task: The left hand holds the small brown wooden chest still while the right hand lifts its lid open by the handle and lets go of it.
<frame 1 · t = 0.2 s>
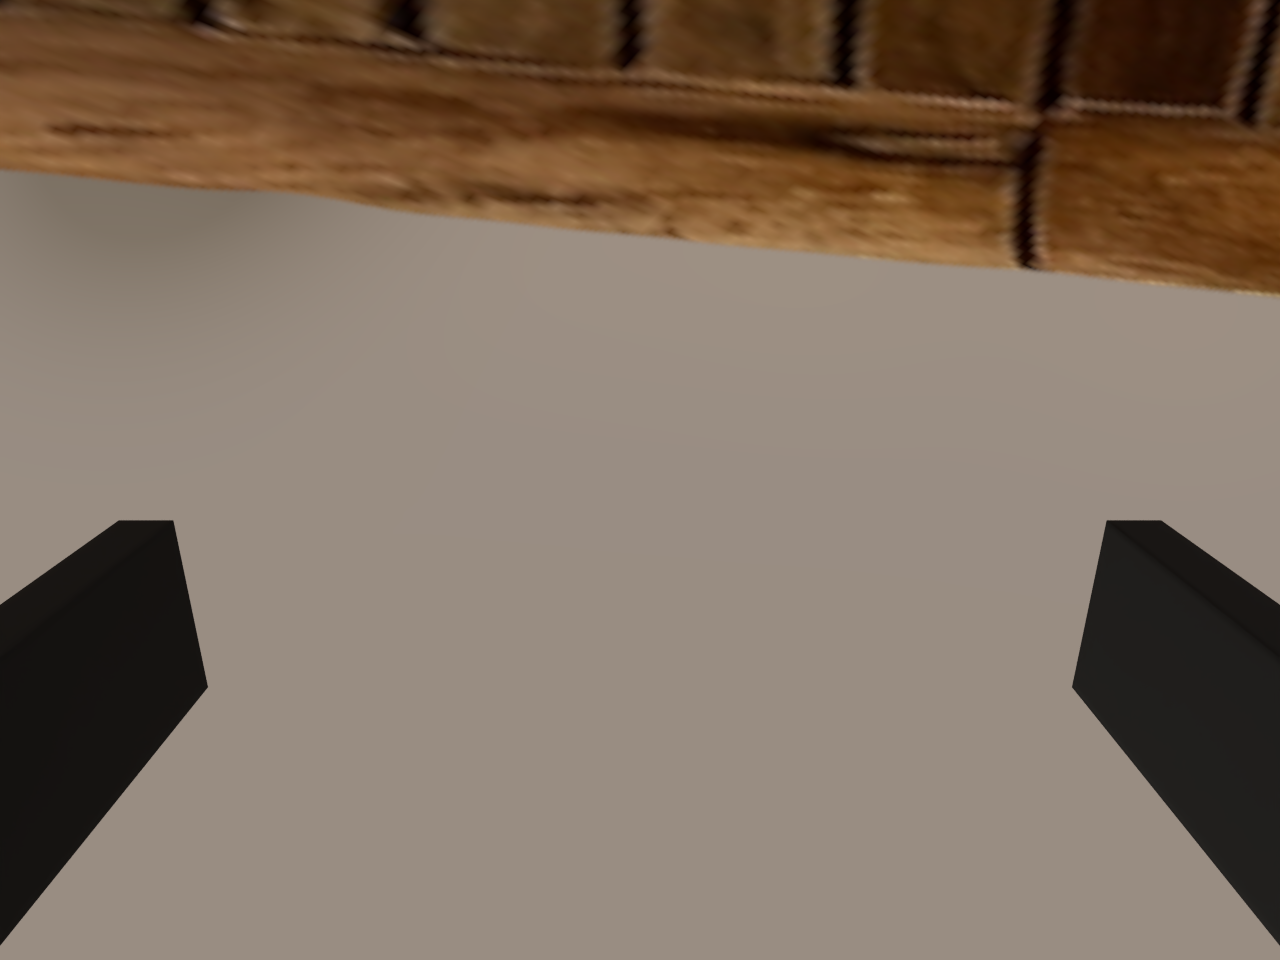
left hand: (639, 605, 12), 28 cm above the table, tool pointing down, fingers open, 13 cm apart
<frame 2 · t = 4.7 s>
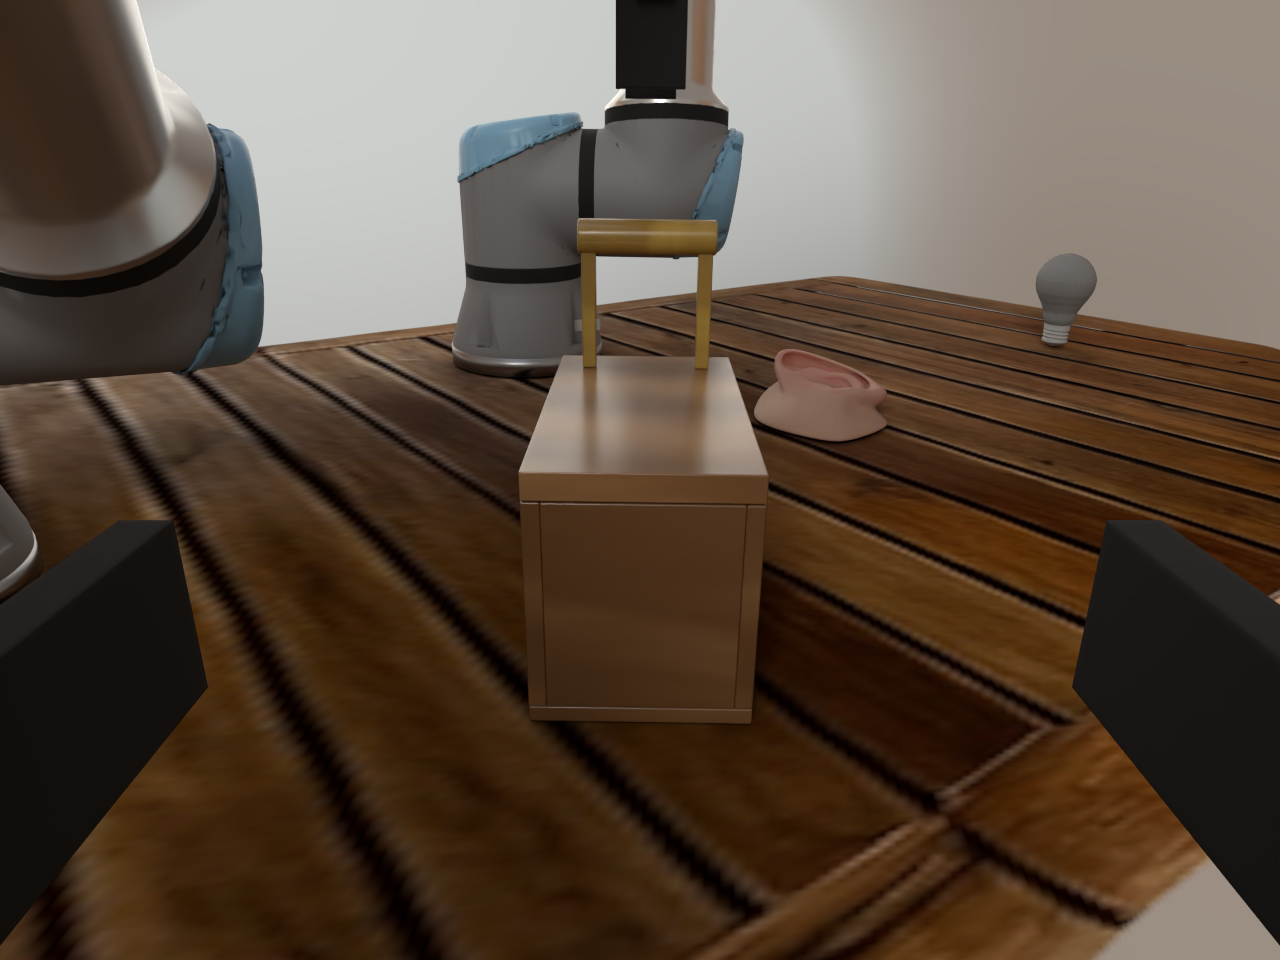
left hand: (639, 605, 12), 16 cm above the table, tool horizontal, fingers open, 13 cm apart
light bulb: (1053, 346, 98), on the table
chest: (642, 615, 43), on the table
anatomical model: (818, 416, 73), on the table
lid: (645, 334, 38), point 14 cm above the table, hinge at 0.0°
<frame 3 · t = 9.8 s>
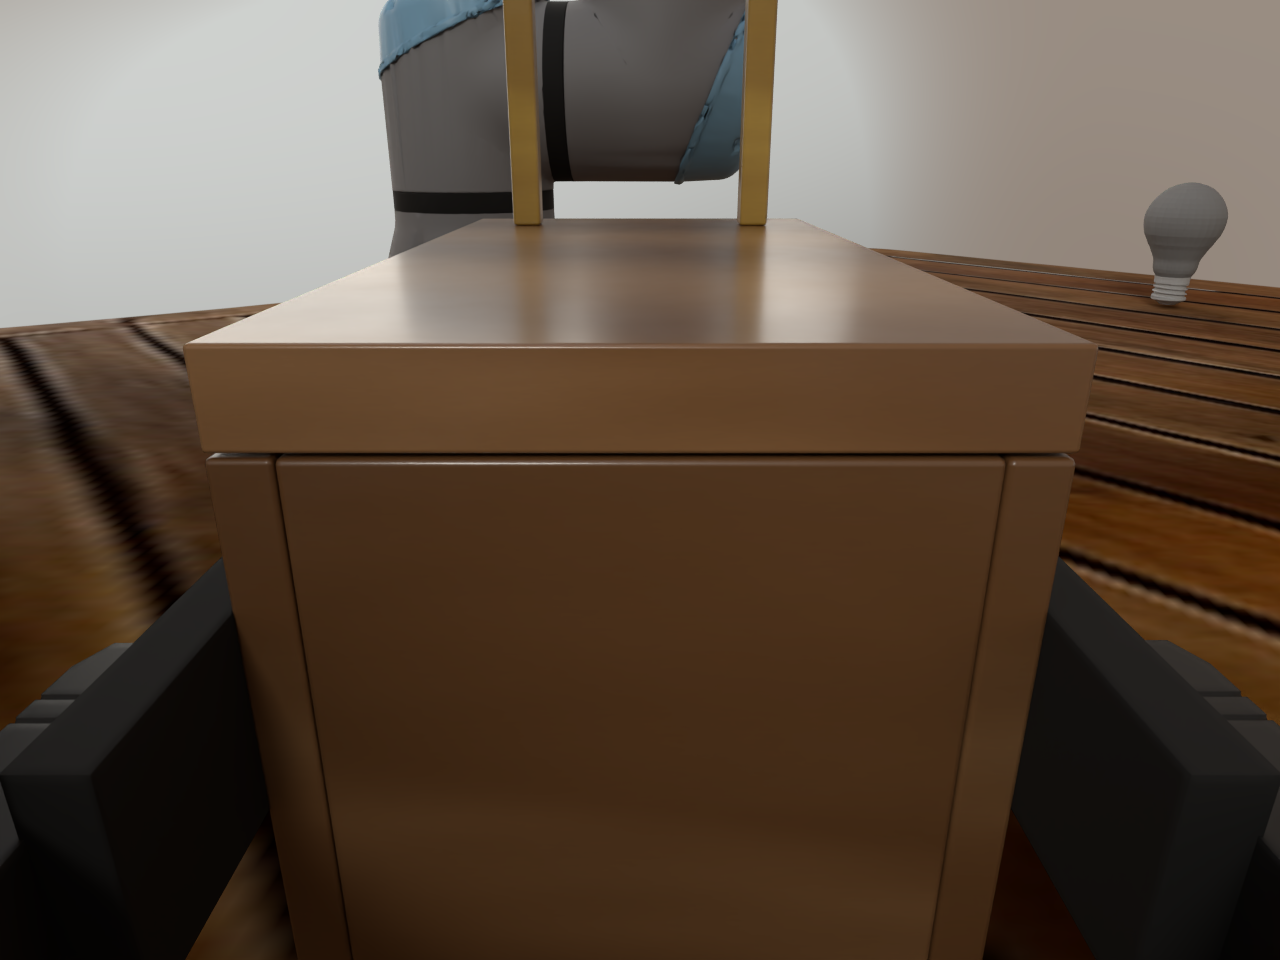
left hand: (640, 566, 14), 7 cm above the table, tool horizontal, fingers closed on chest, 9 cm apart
light bulb: (1166, 306, 76), on the table
chest: (640, 735, 20), on the table, touching left hand
lid: (640, 71, 16), point 14 cm above the table, hinge at 0.0°
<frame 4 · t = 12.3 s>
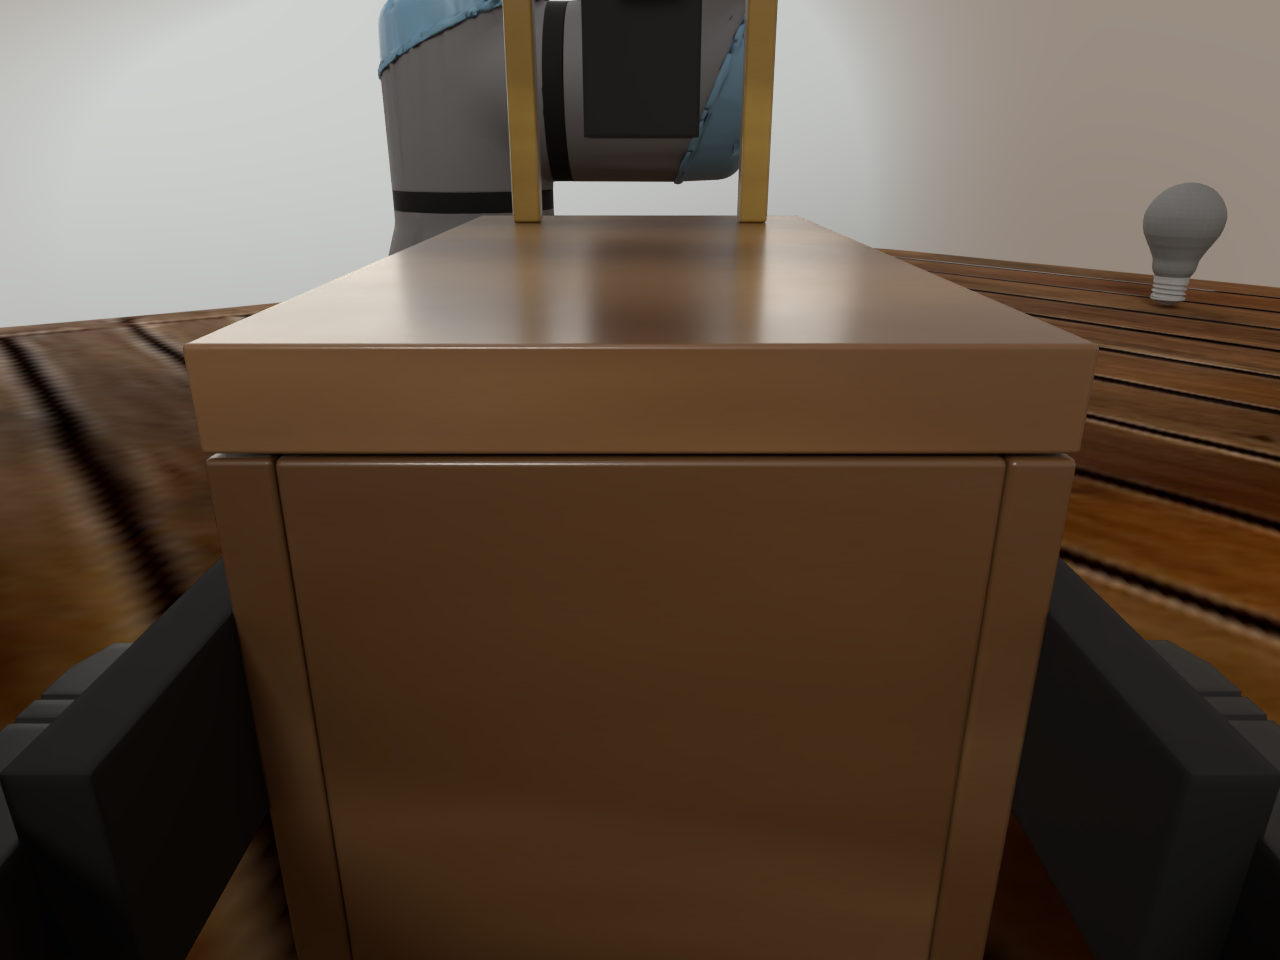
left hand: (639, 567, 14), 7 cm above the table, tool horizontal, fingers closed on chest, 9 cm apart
light bulb: (1165, 306, 76), on the table
chest: (640, 735, 20), on the table, touching left hand
lid: (640, 68, 15), point 14 cm above the table, hinge at 0.3°, touching right hand
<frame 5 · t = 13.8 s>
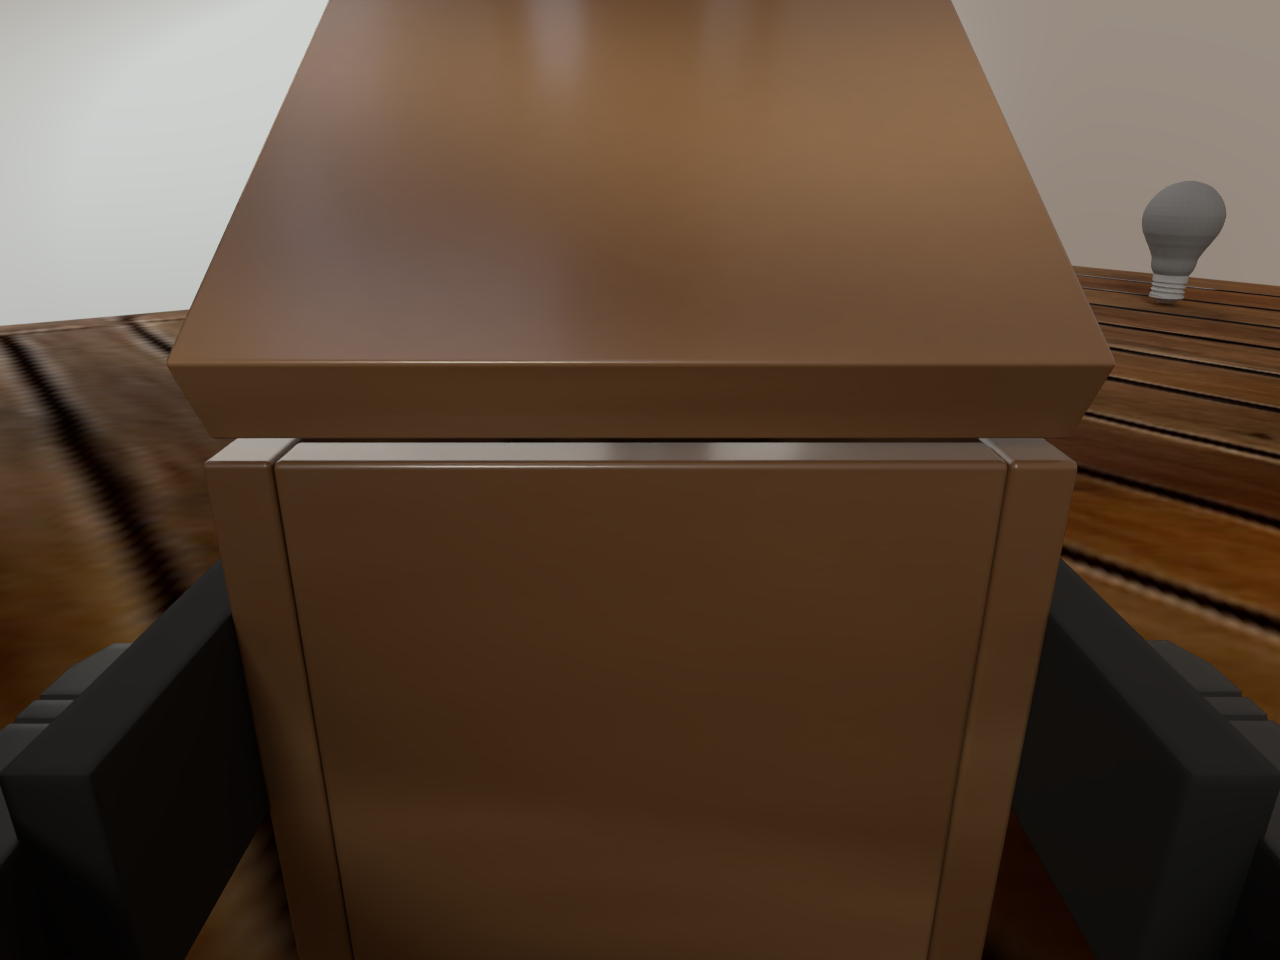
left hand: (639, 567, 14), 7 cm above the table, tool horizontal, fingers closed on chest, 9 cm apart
light bulb: (1164, 304, 76), on the table
chest: (639, 730, 20), on the table, touching left hand
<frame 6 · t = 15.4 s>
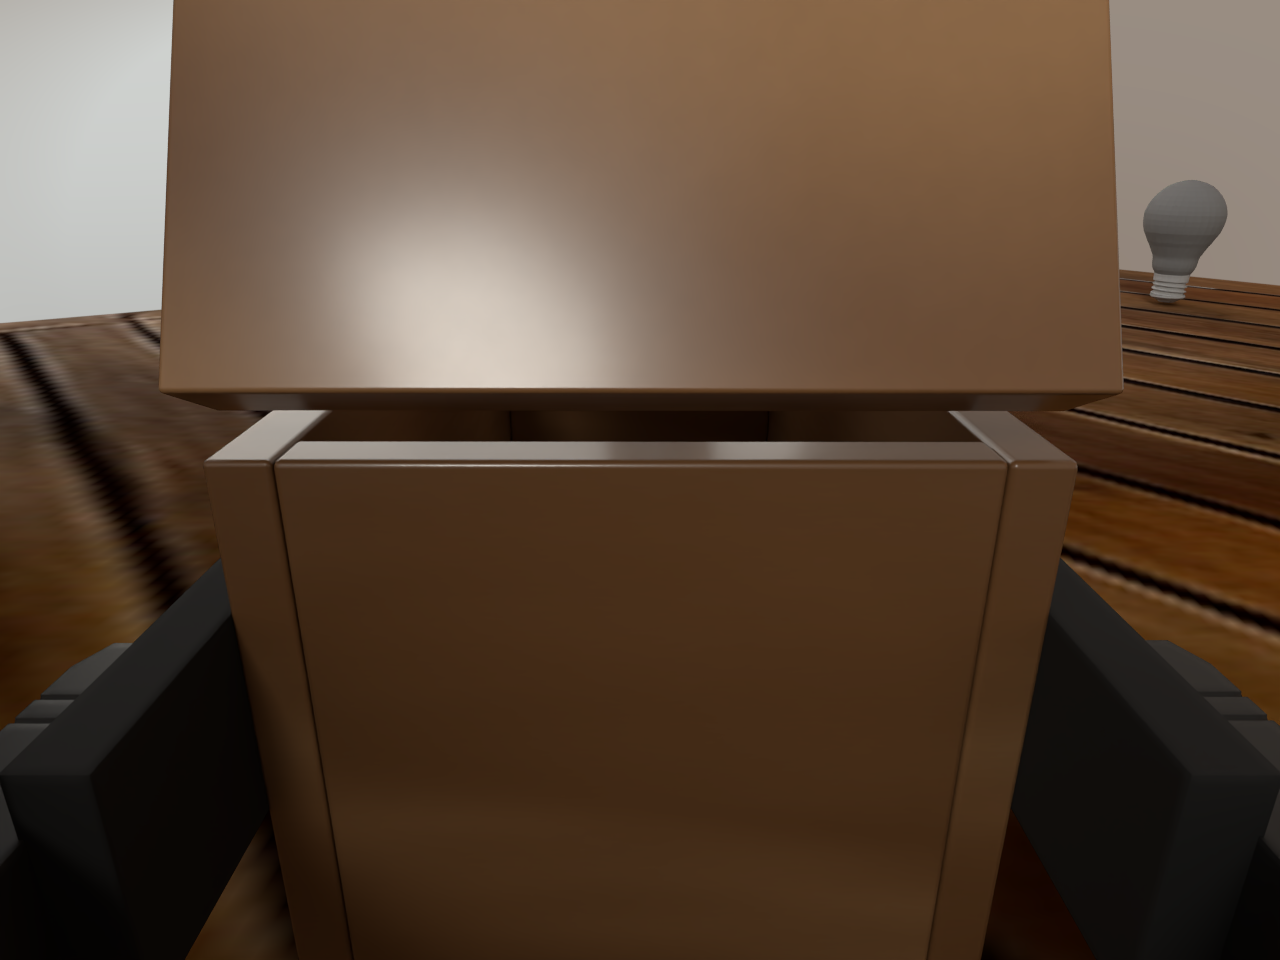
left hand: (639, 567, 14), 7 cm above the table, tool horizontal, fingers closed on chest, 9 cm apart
light bulb: (1165, 304, 76), on the table
chest: (639, 729, 20), on the table, touching left hand
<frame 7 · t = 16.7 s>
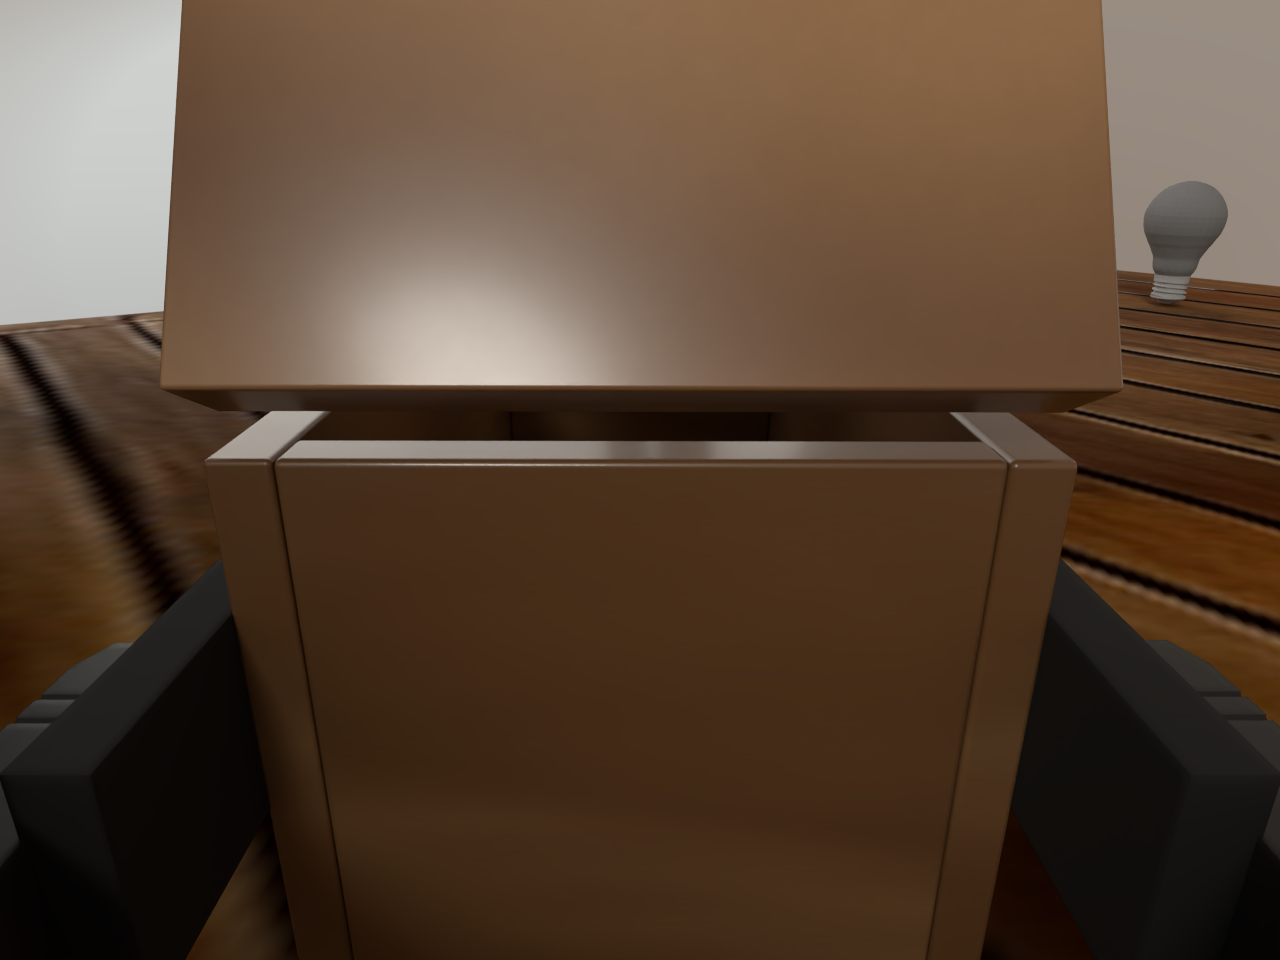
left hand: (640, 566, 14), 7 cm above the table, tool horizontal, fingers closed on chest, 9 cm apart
light bulb: (1166, 305, 76), on the table
chest: (639, 729, 20), on the table, touching left hand
when the left hand's fingers open (7 cm above the table, at t = 19.5 s): chest stays where it is, on the table.
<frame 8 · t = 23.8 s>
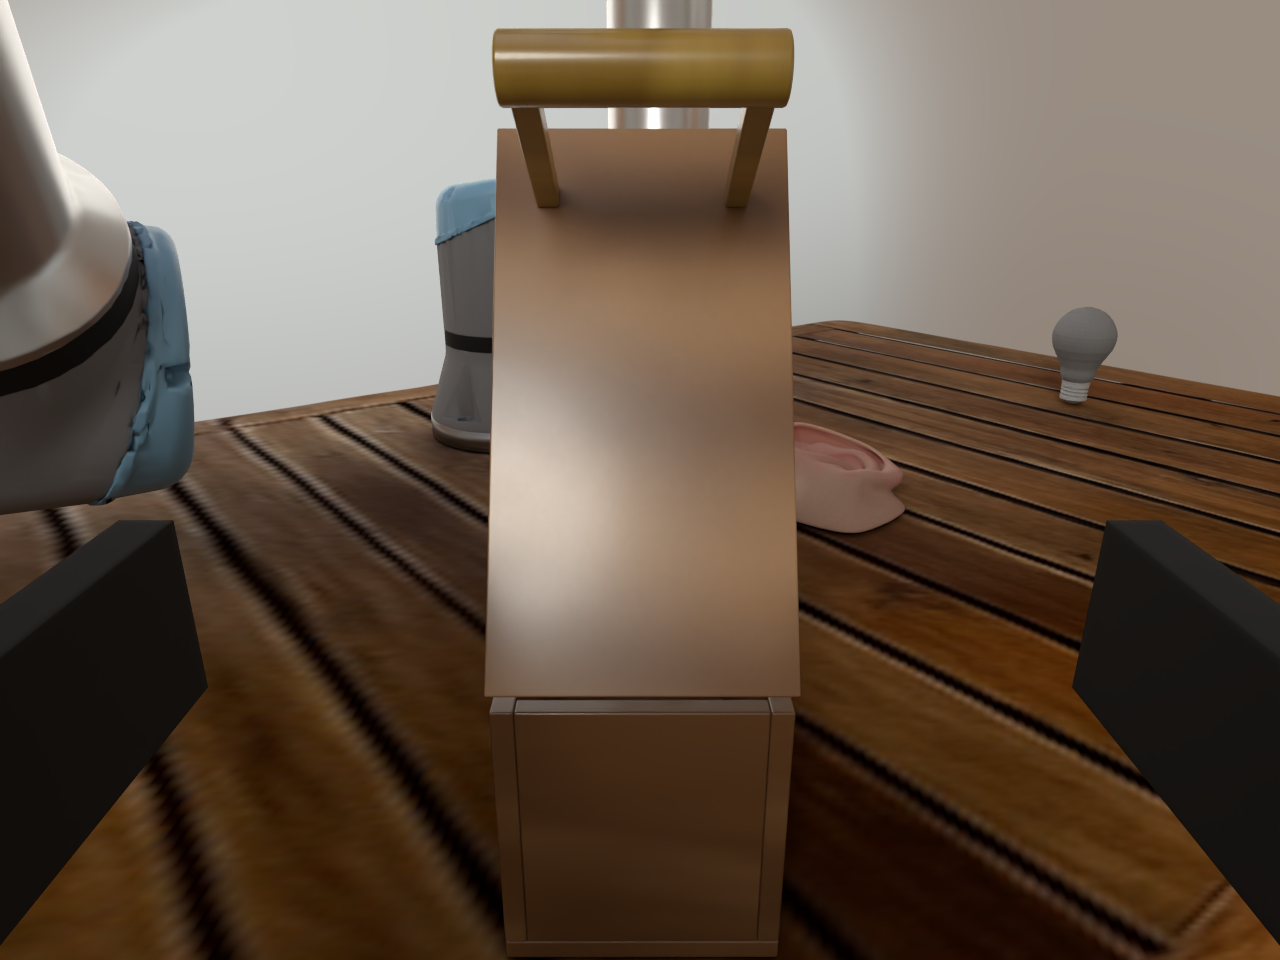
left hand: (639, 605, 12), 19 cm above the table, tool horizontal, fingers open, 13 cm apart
light bulb: (1071, 404, 92), on the table
chest: (641, 786, 37), on the table
anatomical model: (828, 498, 67), on the table
lid: (642, 372, 23), point 20 cm above the table, hinge at 61.5°
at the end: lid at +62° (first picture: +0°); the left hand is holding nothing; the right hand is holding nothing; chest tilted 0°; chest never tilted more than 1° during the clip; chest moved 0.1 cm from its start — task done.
